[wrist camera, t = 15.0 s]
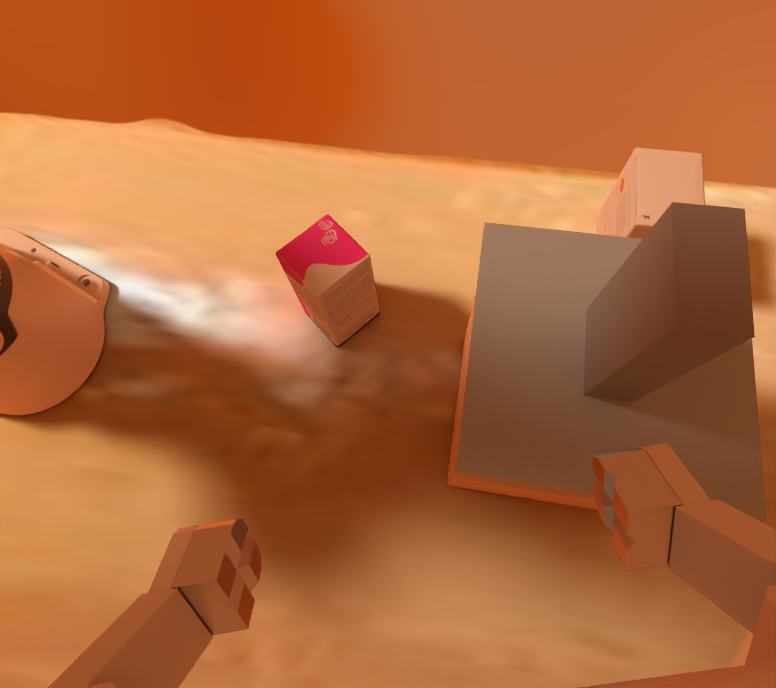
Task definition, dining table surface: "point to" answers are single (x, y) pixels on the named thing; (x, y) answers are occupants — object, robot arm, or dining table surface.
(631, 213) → the small box
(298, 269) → the supplement box
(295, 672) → the dining table surface
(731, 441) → the grey plate with knob
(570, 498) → the large tan box
